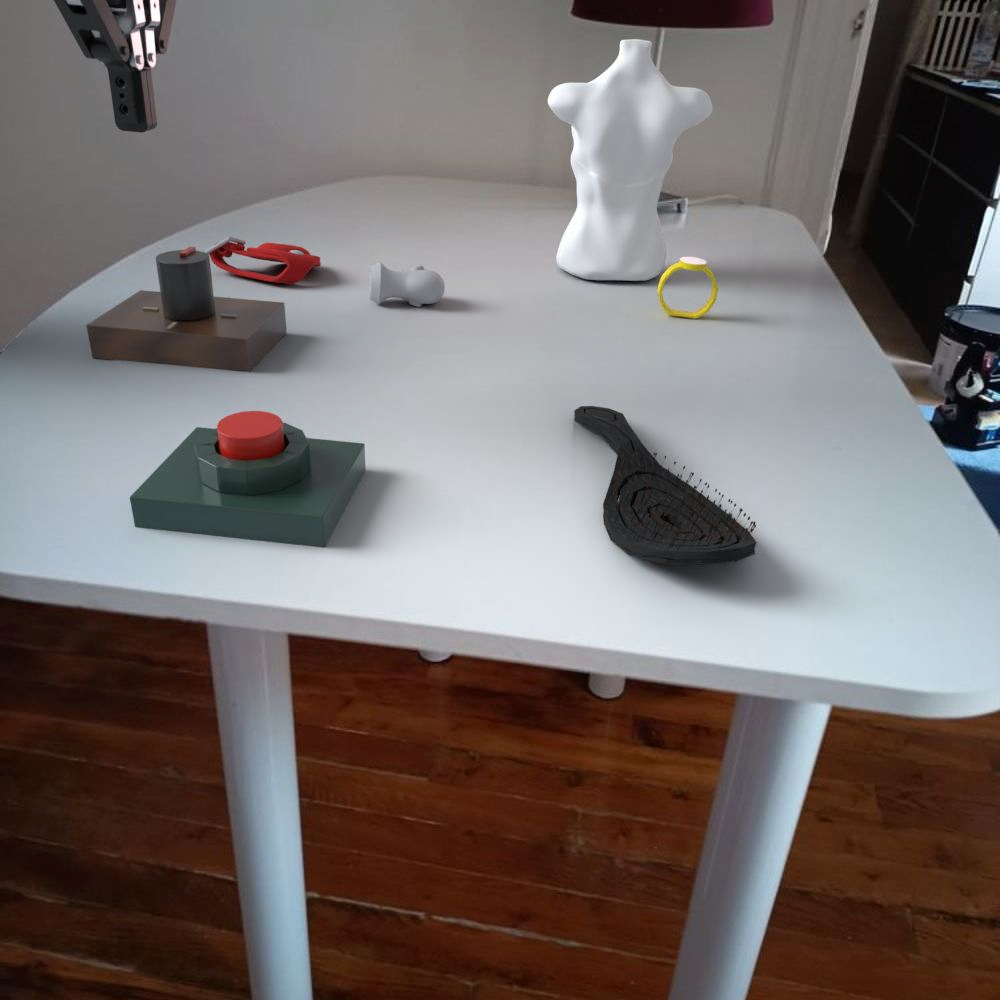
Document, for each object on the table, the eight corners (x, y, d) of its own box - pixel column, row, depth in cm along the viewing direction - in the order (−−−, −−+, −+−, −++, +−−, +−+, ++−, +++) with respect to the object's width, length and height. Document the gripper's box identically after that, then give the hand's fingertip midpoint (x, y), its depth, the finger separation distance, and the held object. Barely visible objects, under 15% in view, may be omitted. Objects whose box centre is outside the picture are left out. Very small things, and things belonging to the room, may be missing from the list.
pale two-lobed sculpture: (445, 309, 98) (441, 309, 93) (371, 303, 98) (363, 303, 93) (448, 268, 97) (444, 266, 92) (373, 262, 97) (365, 259, 92)
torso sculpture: (673, 262, 114) (704, 39, 102) (694, 286, 106) (732, 46, 93) (529, 259, 112) (544, 31, 100) (540, 283, 104) (557, 37, 91)
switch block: (134, 527, 56) (124, 470, 54) (200, 454, 65) (193, 402, 63) (324, 548, 55) (321, 491, 53) (365, 471, 64) (364, 419, 62)
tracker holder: (306, 248, 108) (338, 248, 100) (303, 286, 109) (335, 289, 100) (201, 232, 101) (227, 231, 93) (199, 273, 102) (224, 275, 94)
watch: (655, 318, 95) (663, 261, 92) (653, 310, 98) (661, 254, 95) (713, 322, 95) (723, 265, 92) (710, 313, 97) (719, 258, 94)
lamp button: (209, 460, 57) (206, 434, 56) (233, 432, 60) (231, 408, 59) (272, 466, 56) (270, 441, 55) (293, 438, 60) (291, 413, 59)
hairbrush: (637, 379, 73) (793, 530, 52) (632, 422, 75) (782, 586, 53) (537, 385, 71) (655, 543, 50) (534, 428, 73) (648, 600, 51)
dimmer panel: (92, 358, 79) (85, 323, 77) (145, 320, 88) (140, 288, 86) (248, 372, 78) (245, 337, 76) (286, 333, 86) (284, 300, 85)
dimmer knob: (203, 323, 79) (195, 262, 76) (154, 318, 80) (145, 257, 77) (223, 307, 83) (216, 248, 80) (177, 302, 83) (169, 244, 81)
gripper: (92, -183, 58) (130, 111, 67) (-42, -220, 46) (26, 141, 55) (206, -176, 57) (230, 121, 66) (99, -211, 46) (144, 152, 55)
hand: (137, 129), depth 61 cm, fingers closed
